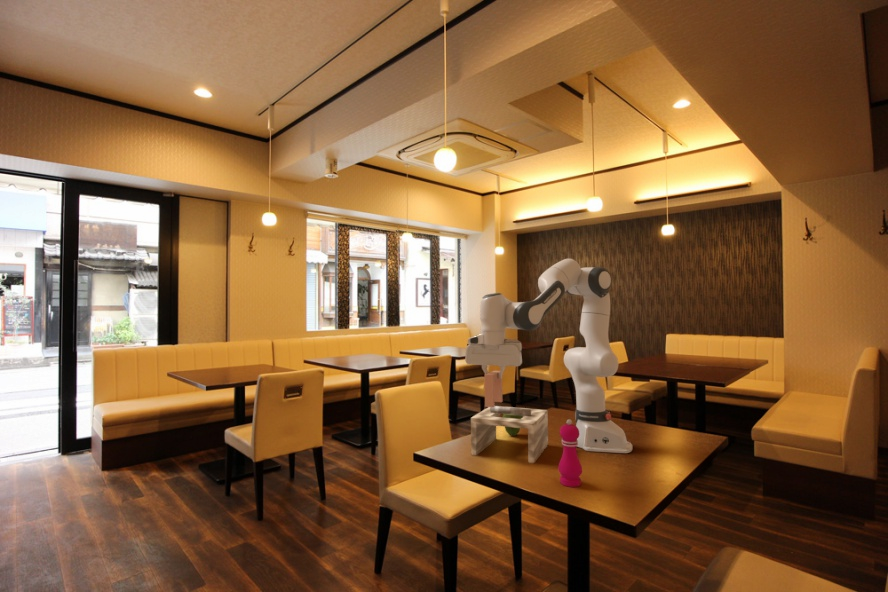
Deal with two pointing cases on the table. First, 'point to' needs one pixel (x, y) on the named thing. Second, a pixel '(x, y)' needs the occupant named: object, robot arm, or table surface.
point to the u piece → (492, 389)
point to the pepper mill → (570, 456)
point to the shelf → (488, 420)
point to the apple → (512, 430)
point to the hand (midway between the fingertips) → (493, 378)
